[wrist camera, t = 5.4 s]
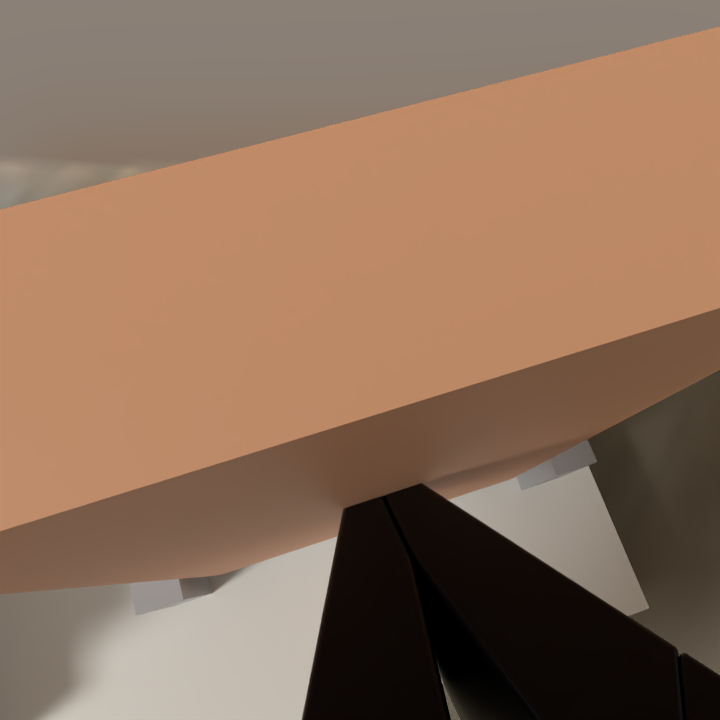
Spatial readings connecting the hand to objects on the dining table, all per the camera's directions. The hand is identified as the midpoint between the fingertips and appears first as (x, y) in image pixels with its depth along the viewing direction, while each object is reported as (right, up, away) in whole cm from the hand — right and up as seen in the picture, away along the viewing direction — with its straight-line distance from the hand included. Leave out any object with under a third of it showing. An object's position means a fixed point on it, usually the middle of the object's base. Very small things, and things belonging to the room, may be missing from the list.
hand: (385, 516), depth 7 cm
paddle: (0, -1, +5) cm, 5 cm away
